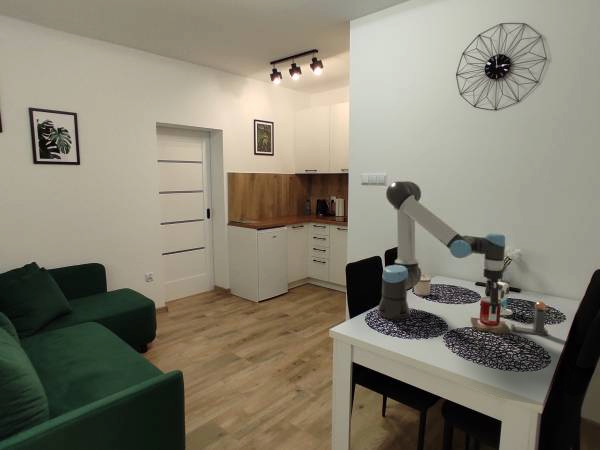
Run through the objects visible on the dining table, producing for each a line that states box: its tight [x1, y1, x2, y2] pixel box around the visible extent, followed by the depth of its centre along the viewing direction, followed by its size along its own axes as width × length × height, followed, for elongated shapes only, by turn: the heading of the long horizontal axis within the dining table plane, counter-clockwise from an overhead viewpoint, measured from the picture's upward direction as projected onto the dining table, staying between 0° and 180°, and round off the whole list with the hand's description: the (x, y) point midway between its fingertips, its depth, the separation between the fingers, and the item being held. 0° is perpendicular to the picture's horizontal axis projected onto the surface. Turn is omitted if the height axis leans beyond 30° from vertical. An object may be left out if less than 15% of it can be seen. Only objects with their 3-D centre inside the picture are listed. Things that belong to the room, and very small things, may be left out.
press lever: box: [532, 301, 547, 333], centre depth 158 cm, size 4×4×13 cm
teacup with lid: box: [412, 273, 432, 296], centre depth 215 cm, size 12×9×12 cm
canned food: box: [479, 296, 501, 326], centre depth 165 cm, size 8×8×11 cm
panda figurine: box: [497, 279, 513, 316], centre depth 185 cm, size 12×11×15 cm
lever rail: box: [510, 323, 549, 337], centre depth 160 cm, size 13×4×2 cm, turn 71°
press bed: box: [470, 316, 511, 335], centre depth 165 cm, size 14×12×2 cm
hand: (490, 315), depth 165 cm, fingers open, 13 cm apart
